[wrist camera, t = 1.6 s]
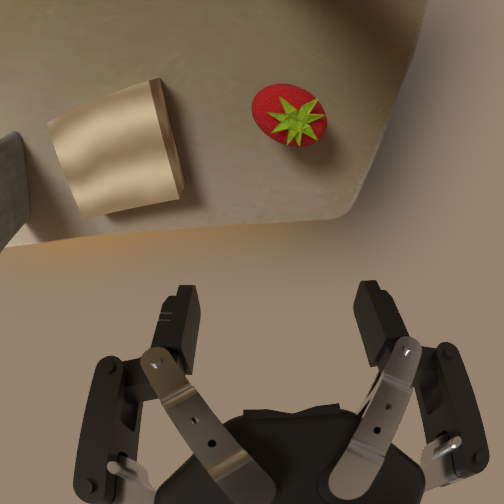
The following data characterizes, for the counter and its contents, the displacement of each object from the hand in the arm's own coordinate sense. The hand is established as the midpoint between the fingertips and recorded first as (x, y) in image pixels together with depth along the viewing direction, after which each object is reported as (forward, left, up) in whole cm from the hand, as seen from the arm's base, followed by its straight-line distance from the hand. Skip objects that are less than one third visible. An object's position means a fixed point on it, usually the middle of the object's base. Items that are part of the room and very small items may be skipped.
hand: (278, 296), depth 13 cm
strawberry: (-4, +3, -23) cm, 24 cm away
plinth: (-3, -17, -23) cm, 29 cm away
